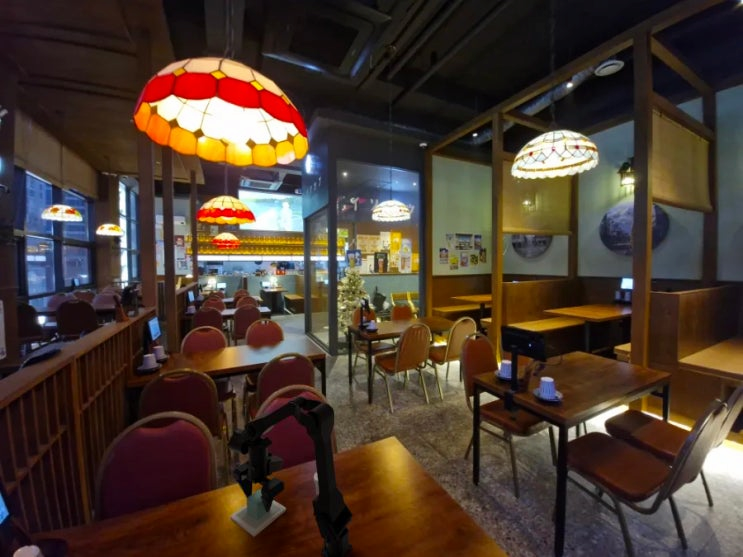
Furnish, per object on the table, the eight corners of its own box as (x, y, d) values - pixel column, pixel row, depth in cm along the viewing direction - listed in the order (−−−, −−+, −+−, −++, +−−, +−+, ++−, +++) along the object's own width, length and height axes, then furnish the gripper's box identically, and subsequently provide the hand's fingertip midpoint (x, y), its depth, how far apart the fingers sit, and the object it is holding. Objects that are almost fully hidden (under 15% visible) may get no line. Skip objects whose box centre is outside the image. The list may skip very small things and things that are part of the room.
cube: (270, 510, 101) (270, 494, 101) (257, 520, 97) (256, 504, 96) (260, 503, 104) (260, 488, 103) (247, 513, 99) (246, 498, 99)
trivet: (286, 510, 102) (286, 507, 102) (254, 536, 92) (254, 533, 92) (262, 495, 108) (262, 492, 108) (230, 518, 98) (230, 515, 98)
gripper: (297, 454, 101) (298, 501, 102) (260, 437, 111) (261, 480, 112) (269, 473, 92) (269, 525, 92) (231, 452, 102) (232, 499, 103)
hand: (258, 505), depth 100 cm, fingers open, 9 cm apart
